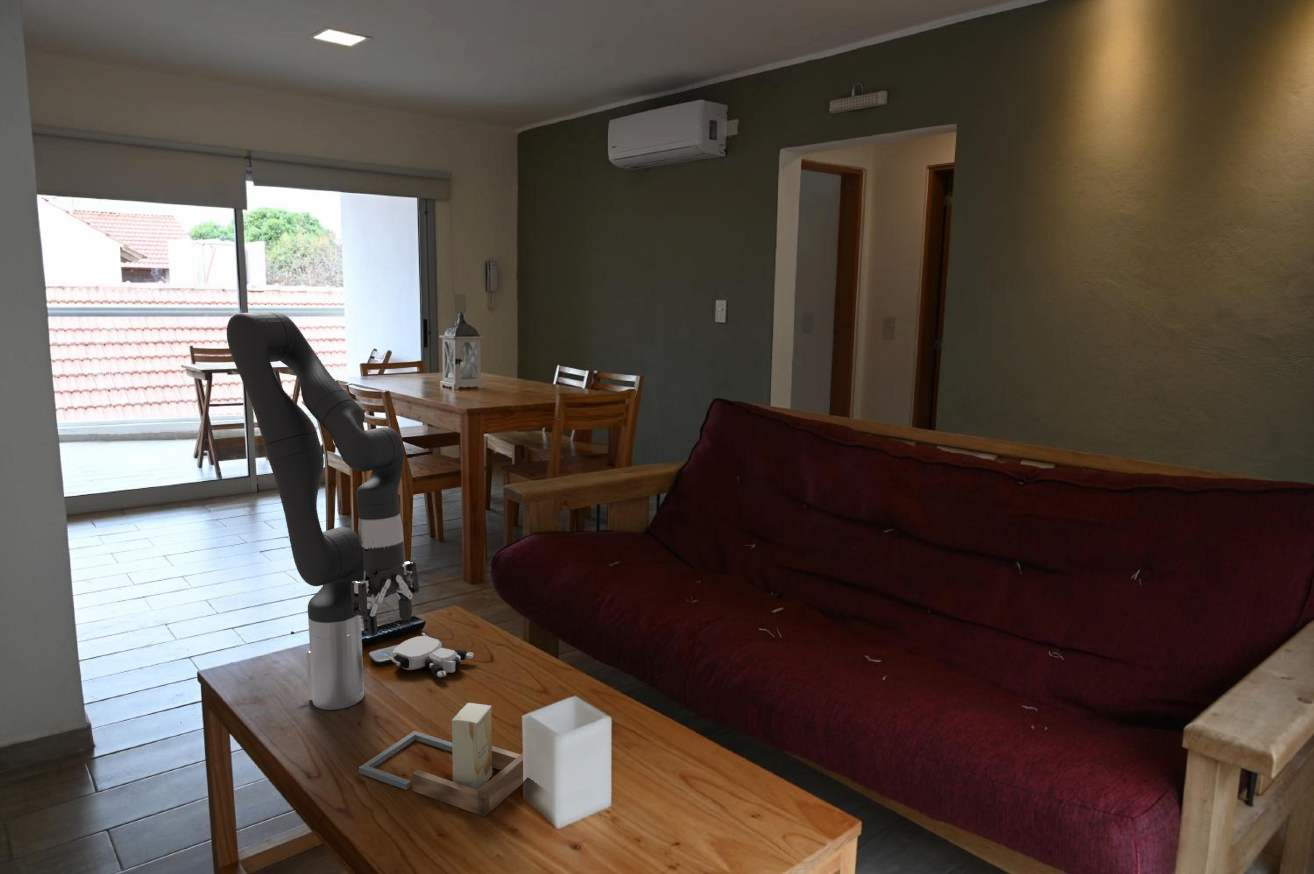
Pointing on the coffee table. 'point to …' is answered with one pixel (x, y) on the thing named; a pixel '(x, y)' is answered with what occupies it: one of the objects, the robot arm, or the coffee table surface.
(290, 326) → the robot arm
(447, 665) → the robot toy
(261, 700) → the coffee table surface
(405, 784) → the bracket
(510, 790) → the frame
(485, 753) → the skincare box
